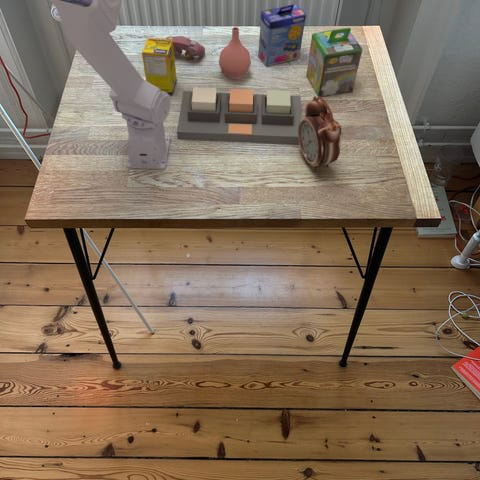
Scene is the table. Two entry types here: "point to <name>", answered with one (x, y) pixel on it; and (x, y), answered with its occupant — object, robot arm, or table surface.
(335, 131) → the alarm clock
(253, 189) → the table surface
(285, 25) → the blue cardboard box
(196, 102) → the cream button
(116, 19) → the robot arm
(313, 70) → the chalk box
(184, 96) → the control board
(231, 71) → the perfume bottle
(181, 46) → the red toy car
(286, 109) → the sage button
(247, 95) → the terracotta button
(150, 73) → the supplement box
